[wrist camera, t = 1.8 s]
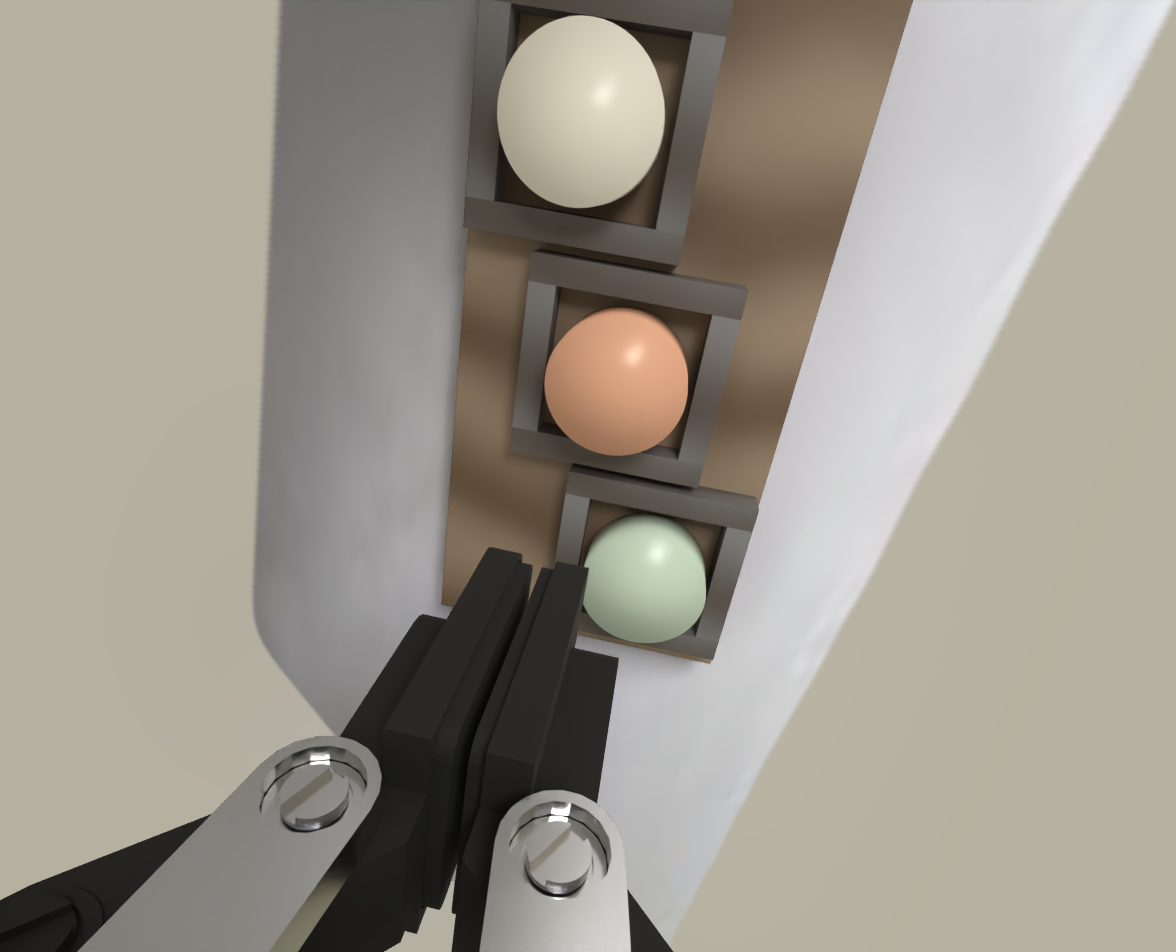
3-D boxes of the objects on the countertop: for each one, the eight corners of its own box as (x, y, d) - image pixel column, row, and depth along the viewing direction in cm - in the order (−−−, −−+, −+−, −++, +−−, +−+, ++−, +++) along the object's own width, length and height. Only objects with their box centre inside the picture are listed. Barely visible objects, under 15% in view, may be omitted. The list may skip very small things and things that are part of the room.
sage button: (596, 501, 26) (590, 525, 25) (717, 527, 26) (719, 552, 24) (579, 600, 29) (571, 628, 27) (690, 625, 28) (690, 654, 26)
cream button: (522, 19, 20) (506, 2, 18) (681, 44, 20) (680, 29, 18) (506, 193, 22) (489, 193, 20) (649, 218, 22) (645, 220, 20)
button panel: (507, -57, 22) (478, -95, 19) (898, 2, 21) (931, -28, 18) (455, 581, 33) (432, 619, 30) (708, 636, 32) (710, 681, 29)
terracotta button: (565, 294, 23) (554, 303, 21) (701, 319, 23) (702, 331, 21) (547, 422, 25) (536, 440, 24) (672, 447, 25) (671, 467, 23)
